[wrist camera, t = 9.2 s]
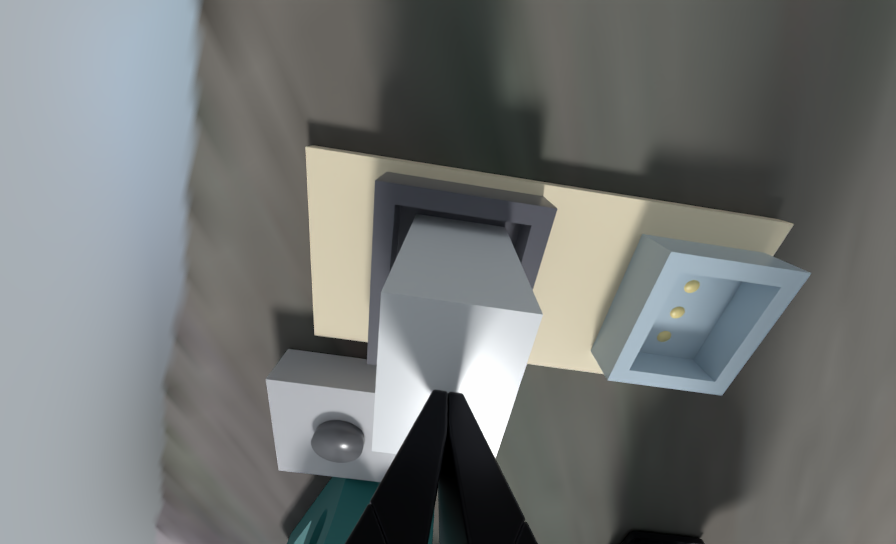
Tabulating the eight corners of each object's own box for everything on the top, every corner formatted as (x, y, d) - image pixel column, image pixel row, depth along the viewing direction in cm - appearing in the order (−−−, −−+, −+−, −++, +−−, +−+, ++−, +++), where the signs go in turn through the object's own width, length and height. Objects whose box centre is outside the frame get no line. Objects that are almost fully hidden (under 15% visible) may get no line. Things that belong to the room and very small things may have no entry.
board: (777, 219, 15) (794, 224, 14) (679, 375, 19) (688, 385, 19) (313, 145, 14) (305, 146, 13) (320, 326, 18) (314, 335, 18)
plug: (505, 227, 14) (543, 314, 8) (477, 345, 17) (488, 478, 11) (416, 214, 14) (380, 291, 8) (403, 335, 17) (370, 464, 10)
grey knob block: (417, 366, 20) (411, 407, 17) (406, 448, 23) (399, 494, 20) (288, 348, 19) (259, 387, 16) (296, 435, 23) (273, 479, 20)
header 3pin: (764, 252, 15) (811, 273, 13) (692, 364, 18) (722, 395, 16) (642, 234, 15) (671, 251, 13) (590, 350, 18) (607, 380, 16)
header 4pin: (543, 195, 14) (557, 208, 12) (499, 353, 18) (504, 381, 16) (386, 171, 14) (375, 180, 12) (377, 336, 18) (366, 363, 16)
